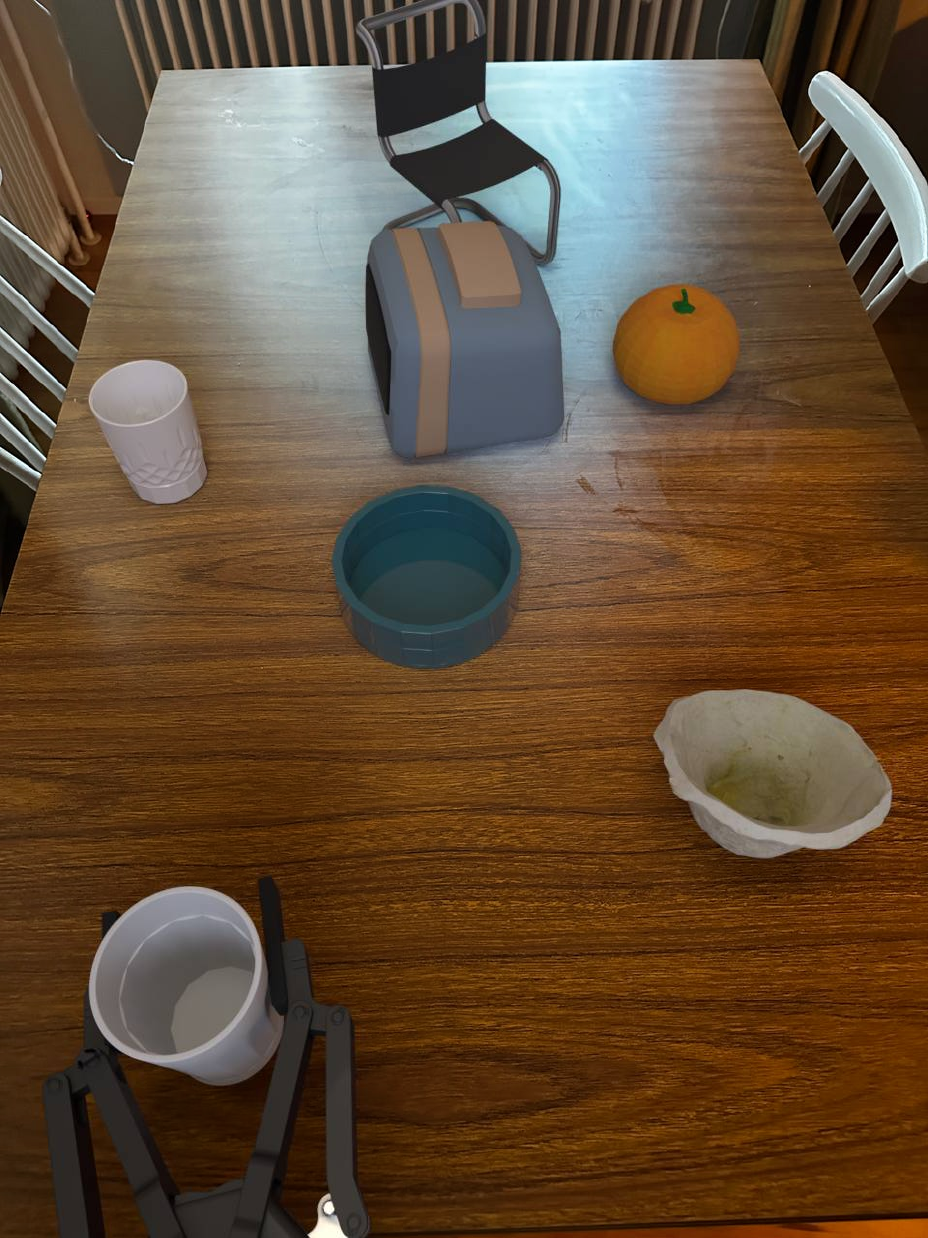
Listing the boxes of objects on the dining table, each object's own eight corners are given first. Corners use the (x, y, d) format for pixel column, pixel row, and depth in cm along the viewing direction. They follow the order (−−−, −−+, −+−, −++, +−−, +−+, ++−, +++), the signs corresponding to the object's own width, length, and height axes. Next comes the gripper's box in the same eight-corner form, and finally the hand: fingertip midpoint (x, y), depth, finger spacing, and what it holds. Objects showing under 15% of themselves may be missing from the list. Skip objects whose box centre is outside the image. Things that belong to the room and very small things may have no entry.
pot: (355, 685, 73) (348, 650, 69) (327, 541, 81) (320, 502, 77) (539, 649, 75) (542, 612, 71) (493, 511, 83) (495, 471, 79)
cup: (190, 1133, 51) (125, 1100, 41) (136, 1001, 55) (64, 942, 45) (322, 1048, 54) (290, 998, 44) (261, 927, 57) (220, 856, 48)
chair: (464, 196, 110) (463, -16, 92) (557, 272, 102) (576, 55, 84) (368, 235, 106) (348, 20, 88) (457, 317, 98) (455, 99, 80)
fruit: (628, 429, 89) (644, 342, 80) (593, 347, 95) (604, 259, 87) (748, 410, 90) (775, 323, 82) (704, 331, 96) (726, 243, 88)
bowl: (852, 735, 70) (903, 664, 62) (852, 921, 63) (911, 867, 54) (650, 696, 72) (673, 622, 64) (626, 872, 65) (649, 812, 56)
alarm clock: (366, 353, 95) (350, 205, 82) (525, 331, 97) (534, 183, 84) (393, 471, 86) (379, 326, 73) (568, 444, 88) (586, 297, 74)
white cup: (108, 475, 86) (70, 390, 77) (182, 432, 89) (153, 346, 80) (156, 524, 82) (121, 440, 74) (231, 478, 85) (206, 393, 77)
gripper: (10, 1504, 41) (25, 964, 53) (474, 1367, 43) (383, 884, 56) (-72, 1546, 34) (-33, 924, 47) (476, 1384, 37) (373, 835, 50)
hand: (193, 903), depth 51 cm, fingers closed on cup, 7 cm apart
